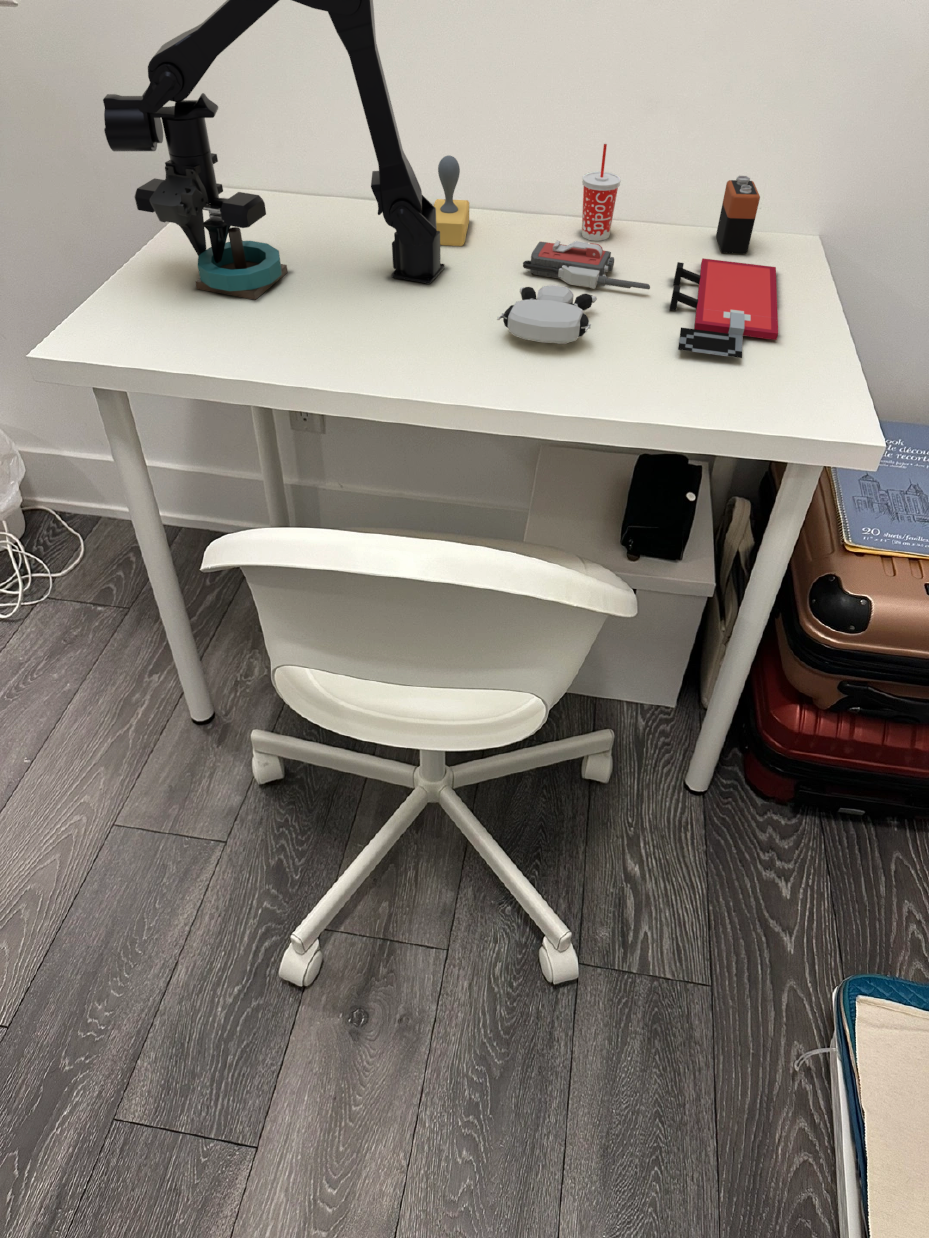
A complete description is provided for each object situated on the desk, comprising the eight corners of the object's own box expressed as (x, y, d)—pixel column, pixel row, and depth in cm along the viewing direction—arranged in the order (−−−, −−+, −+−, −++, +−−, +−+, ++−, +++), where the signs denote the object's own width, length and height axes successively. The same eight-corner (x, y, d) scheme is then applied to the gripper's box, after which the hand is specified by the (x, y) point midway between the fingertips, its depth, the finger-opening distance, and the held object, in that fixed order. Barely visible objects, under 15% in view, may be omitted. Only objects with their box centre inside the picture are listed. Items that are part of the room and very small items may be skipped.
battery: (741, 238, 148) (755, 174, 141) (747, 255, 144) (762, 190, 136) (714, 237, 149) (727, 173, 141) (720, 254, 144) (733, 189, 137)
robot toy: (516, 306, 132) (494, 347, 121) (518, 275, 129) (495, 314, 118) (598, 316, 130) (583, 359, 119) (602, 285, 127) (587, 326, 116)
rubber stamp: (435, 220, 153) (434, 145, 144) (469, 222, 152) (470, 146, 144) (428, 244, 146) (427, 166, 137) (464, 246, 145) (464, 168, 137)
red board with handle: (662, 354, 120) (776, 369, 118) (666, 334, 118) (782, 350, 116) (676, 264, 141) (773, 276, 139) (679, 246, 139) (778, 258, 137)
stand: (287, 272, 138) (280, 221, 133) (255, 300, 132) (246, 248, 126) (231, 262, 141) (222, 212, 135) (196, 289, 134) (185, 237, 129)
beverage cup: (574, 240, 147) (583, 149, 137) (579, 226, 151) (588, 136, 141) (611, 244, 146) (623, 152, 136) (615, 229, 150) (626, 139, 140)
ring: (295, 263, 138) (293, 247, 136) (256, 296, 130) (253, 280, 128) (227, 251, 141) (224, 236, 139) (185, 283, 133) (181, 267, 131)
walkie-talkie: (517, 279, 137) (647, 299, 132) (519, 251, 134) (651, 270, 129) (533, 256, 143) (657, 275, 138) (534, 228, 140) (662, 246, 135)
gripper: (97, 160, 122) (127, 272, 133) (216, 179, 117) (237, 293, 128) (145, 135, 129) (170, 243, 140) (259, 152, 124) (275, 262, 136)
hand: (211, 261), depth 136 cm, fingers closed on ring, 2 cm apart
